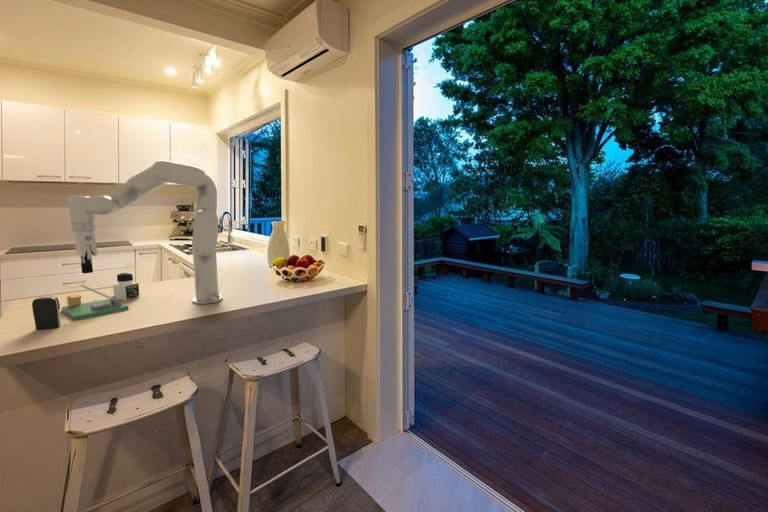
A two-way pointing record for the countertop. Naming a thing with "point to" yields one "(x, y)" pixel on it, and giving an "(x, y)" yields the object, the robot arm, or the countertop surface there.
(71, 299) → the tan wooden block
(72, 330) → the countertop surface
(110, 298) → the grey flat bar
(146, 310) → the countertop surface
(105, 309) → the board
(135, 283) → the medicine bottle
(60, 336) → the countertop surface
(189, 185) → the robot arm
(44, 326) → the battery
